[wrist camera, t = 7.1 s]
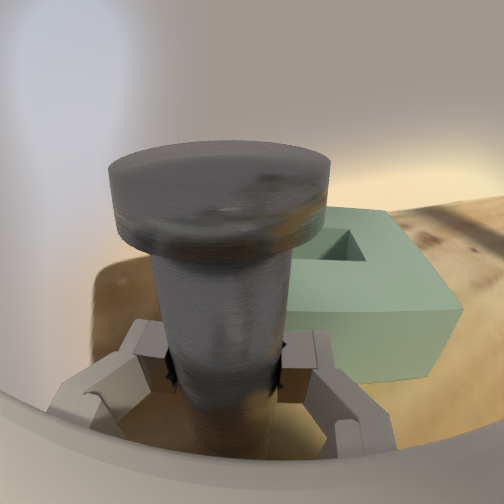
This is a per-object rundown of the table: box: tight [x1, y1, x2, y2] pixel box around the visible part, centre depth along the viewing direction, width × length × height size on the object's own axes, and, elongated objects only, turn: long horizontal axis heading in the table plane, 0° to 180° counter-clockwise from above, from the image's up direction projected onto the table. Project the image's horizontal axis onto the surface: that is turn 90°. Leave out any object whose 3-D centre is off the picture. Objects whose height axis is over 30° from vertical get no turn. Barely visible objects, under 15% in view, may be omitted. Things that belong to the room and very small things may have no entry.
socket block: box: [284, 206, 464, 384], centre depth 22 cm, size 15×15×6 cm
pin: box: [108, 140, 330, 460], centre depth 9 cm, size 4×4×14 cm
